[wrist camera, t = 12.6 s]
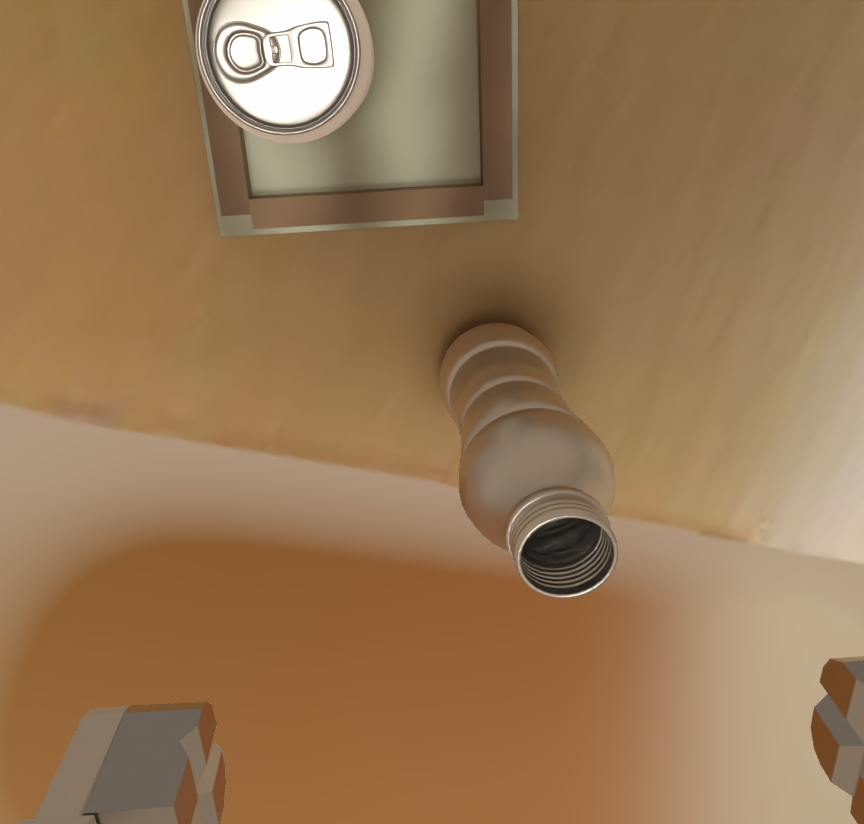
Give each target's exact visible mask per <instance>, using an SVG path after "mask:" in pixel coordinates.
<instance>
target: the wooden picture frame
mask: <svg viewBox="0 0 864 824" xmlns="http://www.w3.org/2000/svg"><path fill="white" fill-rule="evenodd" d="M358 1H359V3H360V5H361V7H362V9H363V11H364V13H365V16H366V18H367V21H368V24H369V28H370V31H371V36H372V41H373V48H374V72H373V78H372V82H371V85H370V88H369V91H368V93H367V95H366V97H365V99H364V100H363V102H362V104H361V105H360V106H359V108H358V109H357V110H356V112H355V113H354V114H353V115H352V116H351V117H350V118H349V119H348V120H347V121H346V122H345V123H344V124H343V125H342V126H341V127H339V128H338V129H336V130H335V131H333V132H332V133H330V134H328V135H326V136H324V137H322V138H319V139H316V140H313V141H309V142H305V143H296V144H287V143H278V142H273V141H269V140H266V139H263V138H260V137H257V136H255V135H253V134H251V133H249V132H247V131H246V130H244V129H243V128H241V127H240V126H238V125H237V124H236V123H234V122H233V121H232V120H231V119H230V118H229V117H228V116H227V115H226V114H225V113H224V112H223V111H222V110H221V109H220V107H219V106H218V105H217V104H216V102H215V101H214V99H213V98H212V96H211V94H210V93H209V91H208V89H207V87H206V85H205V83H204V80H203V78H202V75H201V72H200V69H199V65H198V60H197V54H196V43H195V35H196V25H197V19H198V15H199V11H200V8H201V5H202V2H203V0H182V2H183V9H184V15H185V21H186V27H187V34H188V40H189V46H190V53H191V59H192V65H193V72H194V78H195V84H196V90H197V97H198V103H199V109H200V116H201V122H202V128H203V135H204V141H205V147H206V153H207V160H208V166H209V172H210V179H211V185H212V191H213V197H214V204H215V210H216V216H217V223H218V229H219V235H220V237H230V236H247V235H263V234H280V233H296V232H313V231H329V230H346V229H362V228H379V227H395V226H412V225H428V224H445V223H461V222H478V221H494V220H511V219H518V0H358Z"/></svg>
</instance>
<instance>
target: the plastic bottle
mask: <svg viewBox="0 0 864 824" xmlns="http://www.w3.org/2000/svg"><path fill="white" fill-rule="evenodd" d="M439 389H440V393H441V397H442V399H443V402H444V404H445V406H446V408H447V410H448V412H449V413H450V415H451V416H452V418H453V419H454V420H455V422H456V423H457V425H458V427H459V430H460V434H461V446H462V449H461V457H460V467H459V493H460V498H461V502H462V506H463V508H464V510H465V512H466V514H467V516H468V518H469V519H470V520H471V522H472V523H473V524H474V526H475V527H476V528H477V529H478V530H479V531H480V532H481V534H482V535H483V536H484V537H486V538H487V539H488V540H489V541H490V542H492V543H493V544H495V545H497V546H498V547H500V548H502V549H504V550H507V551H509V553H510V555H511V558H512V559H513V560H514V562H515V566H516V568H517V571H518V573H519V575H520V576H521V578H522V579H523V581H524V582H525V583H526V584H527V585H528V586H529V587H530V588H531V589H533V590H534V591H536V592H538V593H540V594H542V595H545V596H548V597H553V598H573V597H578V596H581V595H584V594H587V593H589V592H591V591H593V590H595V589H597V588H598V587H599V586H600V585H602V584H603V583H604V582H605V581H606V580H607V579H608V578H609V577H610V575H611V574H612V572H613V570H614V569H615V566H616V563H617V559H618V547H617V541H616V538H615V536H614V534H613V532H612V530H611V528H610V523H609V520H608V517H607V515H608V514H609V512H610V509H611V506H612V503H613V498H614V489H615V475H614V467H613V463H612V460H611V457H610V454H609V452H608V450H607V449H606V447H605V446H604V444H603V443H602V441H601V440H600V439H599V438H598V436H597V435H596V434H595V433H594V432H593V431H592V430H591V429H590V428H589V427H588V426H587V425H586V424H585V423H584V422H583V421H582V420H581V419H580V418H579V417H577V416H576V415H575V414H574V413H573V412H572V411H571V410H570V408H569V407H568V405H567V404H566V403H565V401H564V400H563V399H562V397H561V394H560V391H559V382H558V375H557V370H556V366H555V363H554V360H553V358H552V355H551V354H550V352H549V351H548V349H547V348H546V346H545V345H544V344H543V343H542V342H541V341H540V340H539V339H537V338H536V337H534V336H533V335H531V334H530V333H528V332H527V331H525V330H524V329H522V328H519V327H517V326H514V325H510V324H505V323H488V324H482V325H479V326H476V327H474V328H471V329H469V330H468V331H466V332H464V333H463V334H461V335H460V336H459V337H458V338H457V339H456V340H455V341H454V342H453V343H452V344H451V346H450V347H449V348H448V350H447V352H446V354H445V357H444V359H443V362H442V365H441V370H440V374H439Z"/></svg>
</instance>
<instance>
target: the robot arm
mask: <svg viewBox="0 0 864 824" xmlns="http://www.w3.org/2000/svg"><path fill="white" fill-rule="evenodd" d="M820 683H821V684H822V686H823V687H824V689H825V690H826V691H827V693H828V694H827V695H826V696H825V697H824V698H823V699H822V700H821V701H820V702H819V703H818V704H817V705H816V706H815V707H814V710H813V716H812V722H811V732H812V739H813V745H814V749H815V752H816V754H817V757H818V759H819V762H820V764H821V766H822V768H823V769H824V771H825V773H826V774H827V776H828V778H829V779H830V781H831V782H832V783H833V784H835V785H837V786H838V787H839V788H841V789H843V790H844V791H845V792H847V793H848V794H850V795H851V796H852V804H851V814H852V816H853V817H854V818H855V820H856V822H857V823H858V824H864V656H858V657H846V658H833V659H829V661H828V662H827V663H826V664H825V665H824V667H823V670H822V674H821V678H820ZM216 726H217V722H216V718H215V714H214V710H213V706H212V704H210V703H208V702H197V703H173V704H151V705H132V706H128V707H101V708H91V709H90V710H89V711H88V712H87V713H86V714H85V715H84V716H83V717H82V719H81V721H80V723H79V725H78V727H77V729H76V732H75V734H74V736H73V738H72V740H71V742H70V744H69V746H68V748H67V751H66V752H65V755H64V757H63V759H62V761H61V763H60V765H59V767H58V769H57V771H56V774H55V775H54V778H53V780H52V782H51V784H50V786H49V788H48V790H47V793H46V794H45V797H44V798H43V800H42V803H41V805H40V807H39V809H38V811H37V813H36V815H35V817H34V819H30V820H21V821H20V822H18V823H17V824H220V823H221V818H222V813H223V808H224V798H225V785H226V779H225V763H224V758H223V752H222V749H221V748H219V747H218V746H217V745H216V744H215V743H213V742H212V741H213V737H214V733H215V729H216Z"/></svg>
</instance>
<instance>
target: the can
mask: <svg viewBox="0 0 864 824" xmlns="http://www.w3.org/2000/svg"><path fill="white" fill-rule="evenodd" d="M195 43H196V54H197V60H198V65H199V69H200V72H201V75H202V78H203V80H204V83H205V85H206V87H207V89H208V91H209V93H210V94H211V96H212V98H213V99H214V101H215V102H216V104H217V105H218V106H219V107H220V109H221V110H222V111H223V112H224V113H225V114H226V115H227V116H228V117H229V118H230V119H231V120H232V121H233V122H234V123H236V124H237V125H238V126H240V127H241V128H243V129H244V130H246V131H247V132H249V133H251V134H253V135H255V136H257V137H260V138H263V139H266V140H269V141H273V142H278V143H287V144H296V143H305V142H309V141H313V140H316V139H319V138H322V137H324V136H326V135H328V134H330V133H332V132H333V131H335V130H336V129H338V128H339V127H341V126H342V125H343V124H344V123H345V122H346V121H347V120H348V119H349V118H350V117H351V116H352V115H353V114H354V113H355V112H356V110H357V109H358V108H359V106H360V105H361V104H362V102H363V100H364V99H365V97H366V95H367V93H368V91H369V88H370V85H371V82H372V78H373V72H374V48H373V41H372V36H371V31H370V28H369V24H368V21H367V18H366V16H365V13H364V11H363V9H362V7H361V5H360V3H359V1H358V0H203V2H202V5H201V8H200V11H199V15H198V19H197V25H196V35H195Z"/></svg>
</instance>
